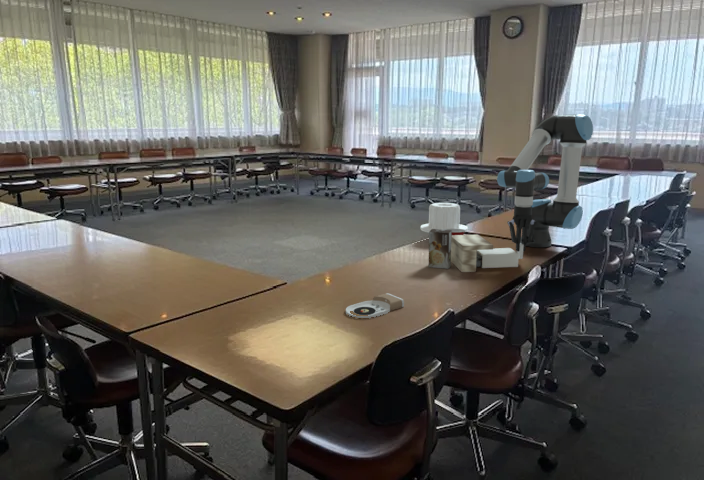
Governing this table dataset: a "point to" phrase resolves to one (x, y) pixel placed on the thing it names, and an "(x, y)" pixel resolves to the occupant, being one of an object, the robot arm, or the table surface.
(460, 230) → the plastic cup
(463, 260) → the beige boxy piece
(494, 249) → the white block
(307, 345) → the table surface
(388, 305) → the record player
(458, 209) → the ribbed cylinder on disc
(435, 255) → the coffee box
